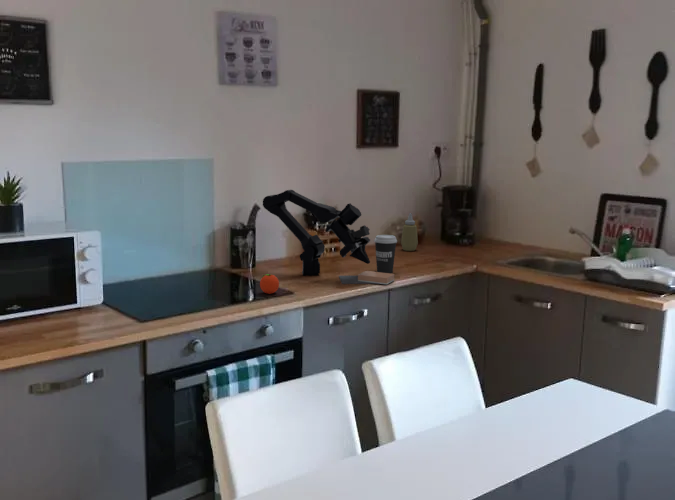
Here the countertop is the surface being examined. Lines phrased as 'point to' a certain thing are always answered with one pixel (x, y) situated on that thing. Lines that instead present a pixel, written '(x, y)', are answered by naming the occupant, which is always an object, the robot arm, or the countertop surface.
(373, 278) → the tile
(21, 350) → the countertop surface
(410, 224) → the squeeze bottle
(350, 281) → the mat
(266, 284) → the clementine
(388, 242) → the coffee cup
